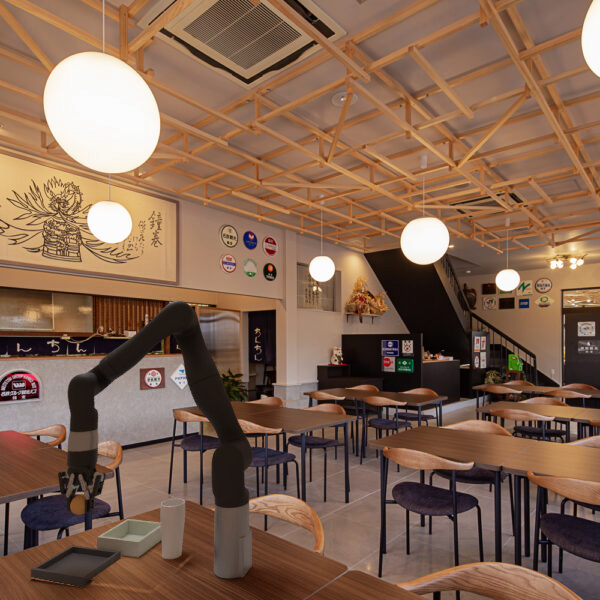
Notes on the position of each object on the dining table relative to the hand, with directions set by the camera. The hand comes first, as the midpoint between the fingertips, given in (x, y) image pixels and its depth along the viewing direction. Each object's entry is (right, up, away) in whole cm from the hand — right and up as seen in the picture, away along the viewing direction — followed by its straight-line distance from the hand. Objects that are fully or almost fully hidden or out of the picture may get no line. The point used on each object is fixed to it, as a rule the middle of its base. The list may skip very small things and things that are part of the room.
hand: (80, 511), depth 118 cm
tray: (0, -15, -2) cm, 15 cm away
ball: (0, -1, 0) cm, 1 cm away
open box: (+10, -16, +11) cm, 22 cm away
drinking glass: (+24, -15, +4) cm, 28 cm away
